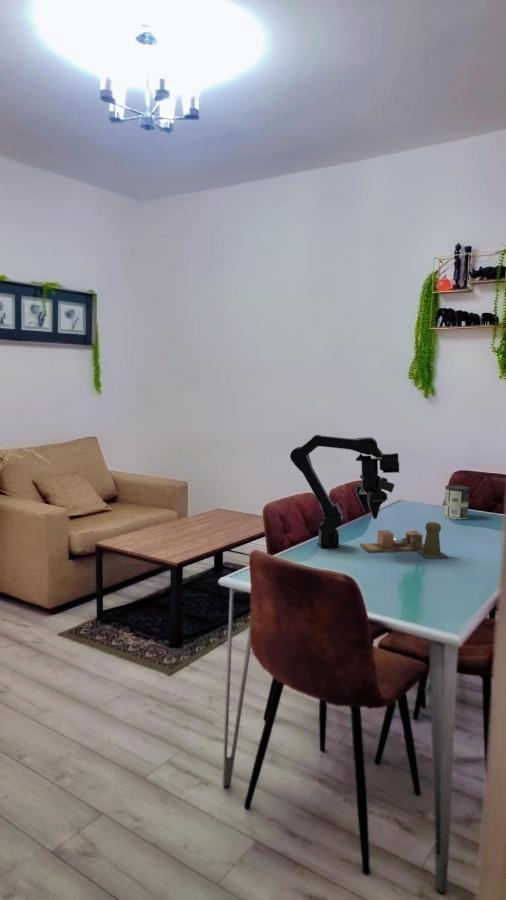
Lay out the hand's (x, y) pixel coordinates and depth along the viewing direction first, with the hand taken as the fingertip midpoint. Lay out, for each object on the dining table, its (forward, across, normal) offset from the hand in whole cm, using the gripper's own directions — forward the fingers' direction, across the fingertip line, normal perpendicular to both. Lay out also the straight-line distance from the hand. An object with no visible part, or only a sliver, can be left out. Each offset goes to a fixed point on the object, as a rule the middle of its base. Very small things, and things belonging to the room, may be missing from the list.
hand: (370, 515), depth 212 cm
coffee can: (+15, +49, -56) cm, 76 cm away
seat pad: (+14, -8, -20) cm, 25 cm away
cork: (+13, -8, -19) cm, 25 cm away
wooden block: (+12, +1, -8) cm, 14 cm away
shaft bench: (+13, +1, -9) cm, 16 cm away
